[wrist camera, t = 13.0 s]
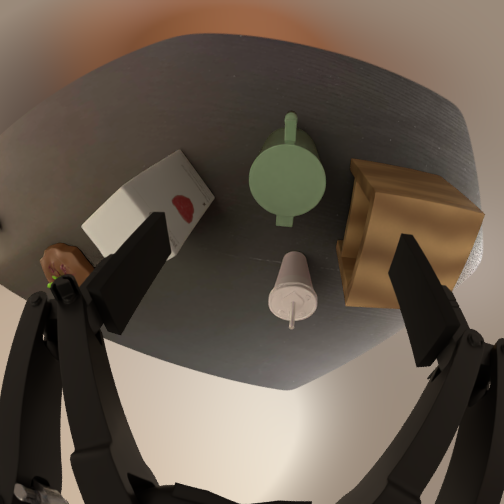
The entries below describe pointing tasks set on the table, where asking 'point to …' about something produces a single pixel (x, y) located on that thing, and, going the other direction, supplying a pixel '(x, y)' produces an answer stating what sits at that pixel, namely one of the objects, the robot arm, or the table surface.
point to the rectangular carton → (152, 205)
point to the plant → (65, 263)
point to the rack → (401, 229)
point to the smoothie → (293, 290)
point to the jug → (288, 173)
